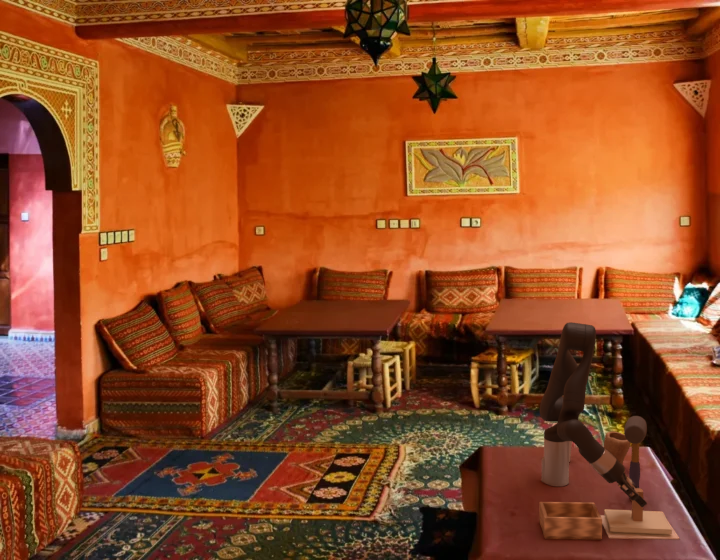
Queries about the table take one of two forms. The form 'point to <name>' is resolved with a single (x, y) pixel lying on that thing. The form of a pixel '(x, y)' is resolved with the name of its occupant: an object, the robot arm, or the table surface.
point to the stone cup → (617, 445)
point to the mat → (636, 535)
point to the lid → (637, 519)
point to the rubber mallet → (635, 445)
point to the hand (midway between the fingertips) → (642, 500)
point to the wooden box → (570, 520)
